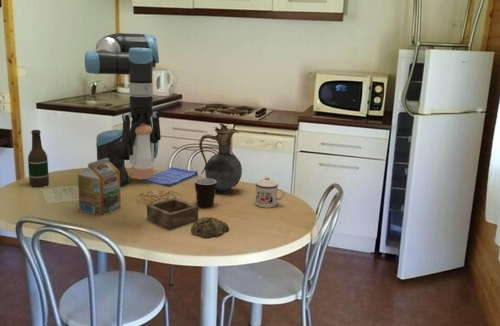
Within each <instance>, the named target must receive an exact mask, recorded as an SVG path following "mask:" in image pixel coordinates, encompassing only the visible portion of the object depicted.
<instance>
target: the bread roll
mask: <svg viewBox="0 0 500 326" xmlns="http://www.w3.org/2000/svg"><path fill="white" fill-rule="evenodd" d="M229 230H230V227H229V225H228V223H226V222H225V221H223V220H220V219H218V218H216V217H211V216H204V217H203V216H202V217H200V218H199V217H198V220H197V221H196V222H194V223H192V226H191V229H190V232H191V235H196V236H199V237H201V238H202V239H212V238H220V237H221V236H224V234H226V233H228V232H229Z"/></svg>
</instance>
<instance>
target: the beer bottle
mask: <svg viewBox="0 0 500 326" xmlns="http://www.w3.org/2000/svg"><path fill="white" fill-rule="evenodd" d="M41 133H42V131H41V130H40V129H32V130H31V132H30V134H31V150H30V152H29V154H28V158H27V164H28V166H27V167H28V176H29V177H28V178H29V186H30V187H31V186H32V187H31V188H34V187H42V188H45V187H44V186H46V187H48V186H49V183H50V179H49V178H50V177H49V162H48V161H49V160H48V155H47V153H46V151H45V150H44V148H43V146H42V138H41Z"/></svg>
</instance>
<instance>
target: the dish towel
mask: <svg viewBox="0 0 500 326" xmlns="http://www.w3.org/2000/svg"><path fill="white" fill-rule="evenodd" d="M198 176H199V173H198V171H197V170H188V169H184V168H179V167H174V166H173V167H169V168H166V169H164V170H162V171H159V172H156V173H153V177H151V178H148V179H139V181H141V182H144V183H146V184H147V183H149V184H153V185H157V186H162V187H167V188H170V187H173V186H176V185H178V184H180V183H183V182H185V181H188V180H190V179H194V178H196V177H198Z"/></svg>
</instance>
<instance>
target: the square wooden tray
mask: <svg viewBox="0 0 500 326" xmlns="http://www.w3.org/2000/svg"><path fill="white" fill-rule="evenodd" d="M198 219H199V207H198V206H197V205H195V204H192V203H191V202H187V201H185V200H182V199H179V198H178V197H177V198H176V197H174V198H170V199H166V200H163V201H159V202H155V203H150V204H148V205H146V220H147V221H149V222H151V223H153V224H155V225H157V226H159V227H162V228H164V229H166V230H169V231H172V230H174V229H178V228H180V227H181V228H182V227H184V226H187V225H191V224H194V223H195V222H196V221H197V220H198Z"/></svg>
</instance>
